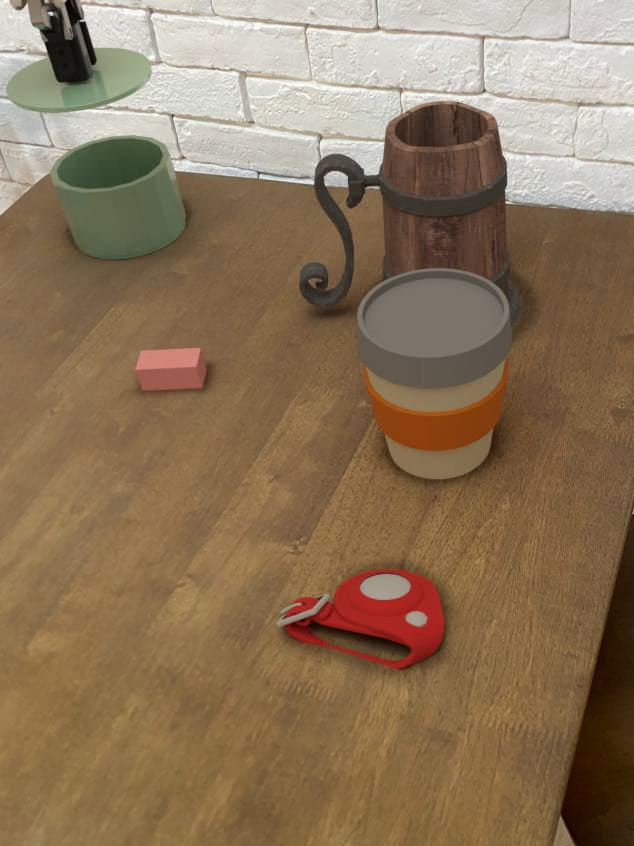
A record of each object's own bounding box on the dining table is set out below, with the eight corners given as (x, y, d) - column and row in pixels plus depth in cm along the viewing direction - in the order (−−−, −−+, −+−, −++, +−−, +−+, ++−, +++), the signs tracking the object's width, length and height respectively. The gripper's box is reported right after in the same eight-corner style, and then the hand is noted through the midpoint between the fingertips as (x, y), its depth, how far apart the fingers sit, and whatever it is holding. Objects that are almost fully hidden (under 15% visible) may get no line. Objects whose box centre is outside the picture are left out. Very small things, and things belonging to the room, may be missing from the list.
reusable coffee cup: (468, 389, 90) (466, 250, 79) (535, 469, 82) (543, 327, 71) (349, 432, 87) (329, 294, 76) (406, 519, 79) (393, 379, 68)
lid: (-8, 123, 91) (-33, 58, 87) (30, 63, 101) (9, 1, 96) (140, 113, 91) (122, 47, 86) (164, 53, 101) (149, -9, 96)
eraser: (144, 397, 93) (134, 369, 90) (150, 378, 95) (140, 350, 92) (204, 395, 92) (196, 366, 90) (208, 375, 94) (201, 347, 92)
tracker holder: (397, 545, 76) (474, 598, 69) (398, 591, 78) (473, 648, 71) (263, 592, 70) (333, 656, 63) (268, 641, 72) (336, 708, 65)
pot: (62, 262, 110) (36, 195, 104) (89, 204, 120) (66, 138, 113) (176, 256, 110) (157, 188, 103) (194, 198, 119) (177, 131, 112)
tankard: (519, 263, 104) (525, 78, 89) (537, 357, 93) (547, 163, 78) (310, 278, 105) (280, 97, 90) (302, 372, 94) (267, 183, 79)
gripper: (-7, -167, 87) (60, 43, 100) (-63, -118, 76) (20, 110, 90) (73, -173, 86) (129, 38, 100) (28, -125, 76) (98, 105, 89)
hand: (77, 70), depth 95 cm, fingers closed on lid, 3 cm apart
